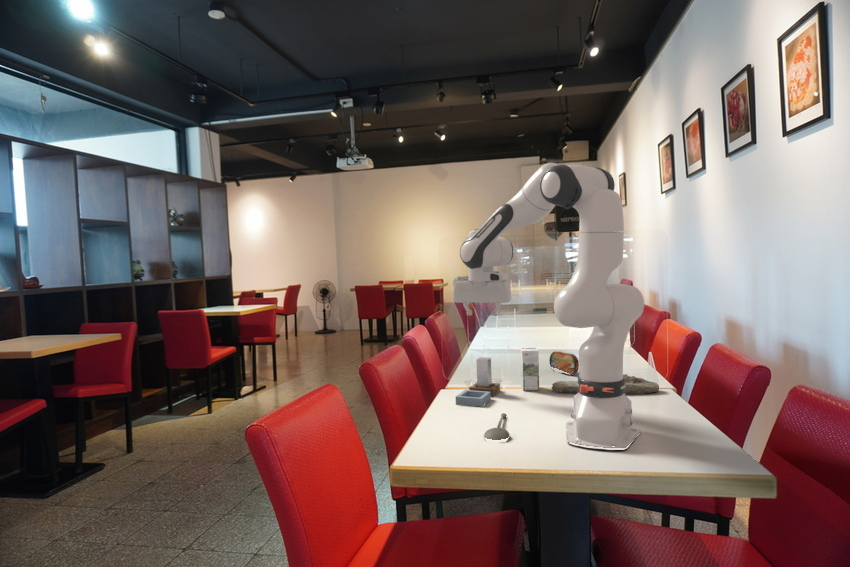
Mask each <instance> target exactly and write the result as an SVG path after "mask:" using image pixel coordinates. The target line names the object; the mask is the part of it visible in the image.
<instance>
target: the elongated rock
mask: <svg viewBox="0 0 850 567" xmlns="http://www.w3.org/2000/svg"><path fill="white" fill-rule="evenodd" d="M623 378H624V379H625V393H624V394H625V395H630V394H632V395H644V394H648V393H649V394H650V393H656V392H657V393H658V392H659V390H660V386H659V383H657V382H654V381H649V380H646V379H644V378H642V377H636V376H633V375H632V376H630V375H628V374H627V373H626V374H624V373H623ZM577 382H578V380H577V381H573V380H572V381H571V380H570V381H566V380H563V381H562V380H558V381H555V382H554V383H552V385H551V391H552V392H553V393H556V392H558V393H557V394H562V393H563V394H564V393H566V394H577V393H578V385H577Z"/></svg>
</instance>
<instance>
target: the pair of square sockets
mask: <svg viewBox="0 0 850 567" xmlns="http://www.w3.org/2000/svg"><path fill="white" fill-rule="evenodd" d="M500 386H501V384H500V383H498V382H497V383H496V382H492V387H491V388H480V387H477V381H476V382H475V383H474V384H472V385H471V386H469V389H464V390H463V391H462V392H460V393H459V394H457V395H456V396H455V405H459V406H460V405H461V406H469V405H474V406H473V407H481V406H482V407H484V406H485V405H486V404H488V402H490V401H491V400H492V399H491V397H492V398H493V397H494V396H496V395H497V393H499V392H500V391H501V387H500ZM484 404H485V405H484ZM483 405H484V406H483Z"/></svg>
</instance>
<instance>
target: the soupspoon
mask: <svg viewBox="0 0 850 567" xmlns="http://www.w3.org/2000/svg"><path fill="white" fill-rule="evenodd" d="M506 416H507V417H508V415H507V413H505V412H502V413H501V414H500V419H499V420H498V423H497V427H492V428H489V429H487V430H486V431H485V432H484V434H483V438H484V437H485V438H487V439H492V440H501V439H506V438H508V437H509V438H510V432H509V431H508V430H506V429H505V428H501V426H502V422H503V420H504V419H505V417H506Z"/></svg>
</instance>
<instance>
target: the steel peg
mask: <svg viewBox="0 0 850 567" xmlns="http://www.w3.org/2000/svg"><path fill="white" fill-rule="evenodd" d="M492 380H493V378H492V357H484V356H483V357H482V356H481V357H479V358H476V382H477V387H480V388H491V387H492V383H493V381H492Z"/></svg>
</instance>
